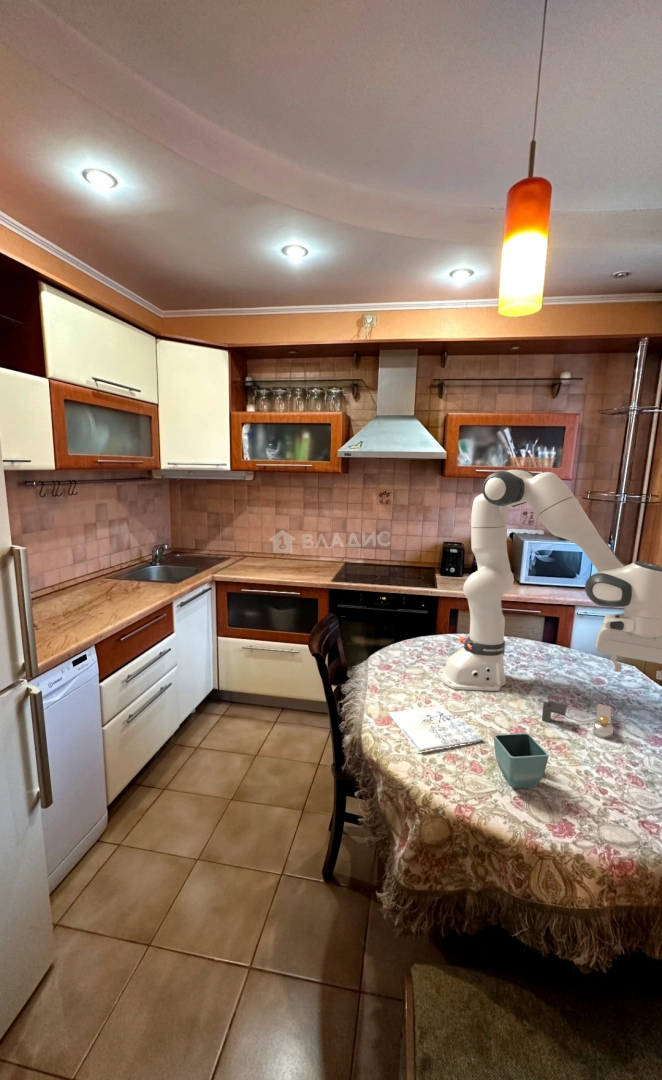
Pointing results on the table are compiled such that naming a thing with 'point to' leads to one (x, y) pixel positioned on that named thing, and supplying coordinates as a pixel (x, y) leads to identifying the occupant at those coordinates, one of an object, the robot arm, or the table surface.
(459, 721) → the white illustrated notebook
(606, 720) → the pintle base
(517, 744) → the flower pot
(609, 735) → the link
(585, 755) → the table surface
